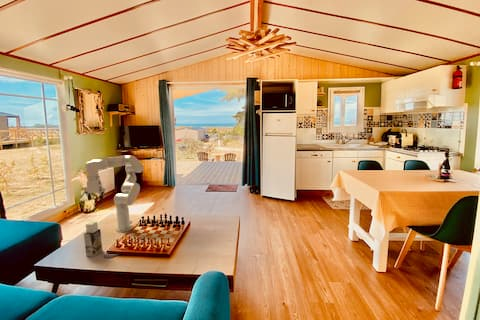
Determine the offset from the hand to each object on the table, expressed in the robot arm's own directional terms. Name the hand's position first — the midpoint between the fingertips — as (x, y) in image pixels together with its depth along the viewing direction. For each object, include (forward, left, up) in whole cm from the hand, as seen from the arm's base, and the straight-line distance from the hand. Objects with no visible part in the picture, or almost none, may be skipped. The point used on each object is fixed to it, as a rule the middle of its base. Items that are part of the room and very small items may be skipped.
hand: (95, 200), depth 207 cm
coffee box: (+18, +8, -34) cm, 39 cm away
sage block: (+18, +8, -17) cm, 26 cm away
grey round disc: (+20, +22, -33) cm, 45 cm away
